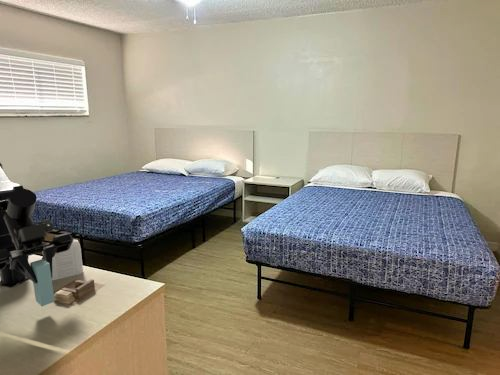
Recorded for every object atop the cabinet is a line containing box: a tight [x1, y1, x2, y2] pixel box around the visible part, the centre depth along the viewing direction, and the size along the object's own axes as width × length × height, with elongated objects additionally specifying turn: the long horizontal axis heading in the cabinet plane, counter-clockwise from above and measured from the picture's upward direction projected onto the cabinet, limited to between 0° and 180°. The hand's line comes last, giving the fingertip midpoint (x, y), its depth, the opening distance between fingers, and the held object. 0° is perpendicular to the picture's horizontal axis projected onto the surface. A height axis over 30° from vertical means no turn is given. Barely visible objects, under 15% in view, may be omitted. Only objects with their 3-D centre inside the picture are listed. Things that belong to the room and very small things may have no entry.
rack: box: [53, 278, 105, 307], centre depth 100 cm, size 11×12×4 cm
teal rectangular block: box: [29, 258, 56, 307], centre depth 87 cm, size 4×3×10 cm
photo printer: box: [52, 238, 84, 281], centre depth 109 cm, size 10×4×12 cm, turn 123°
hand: (44, 280), depth 86 cm, fingers closed on teal rectangular block, 3 cm apart
